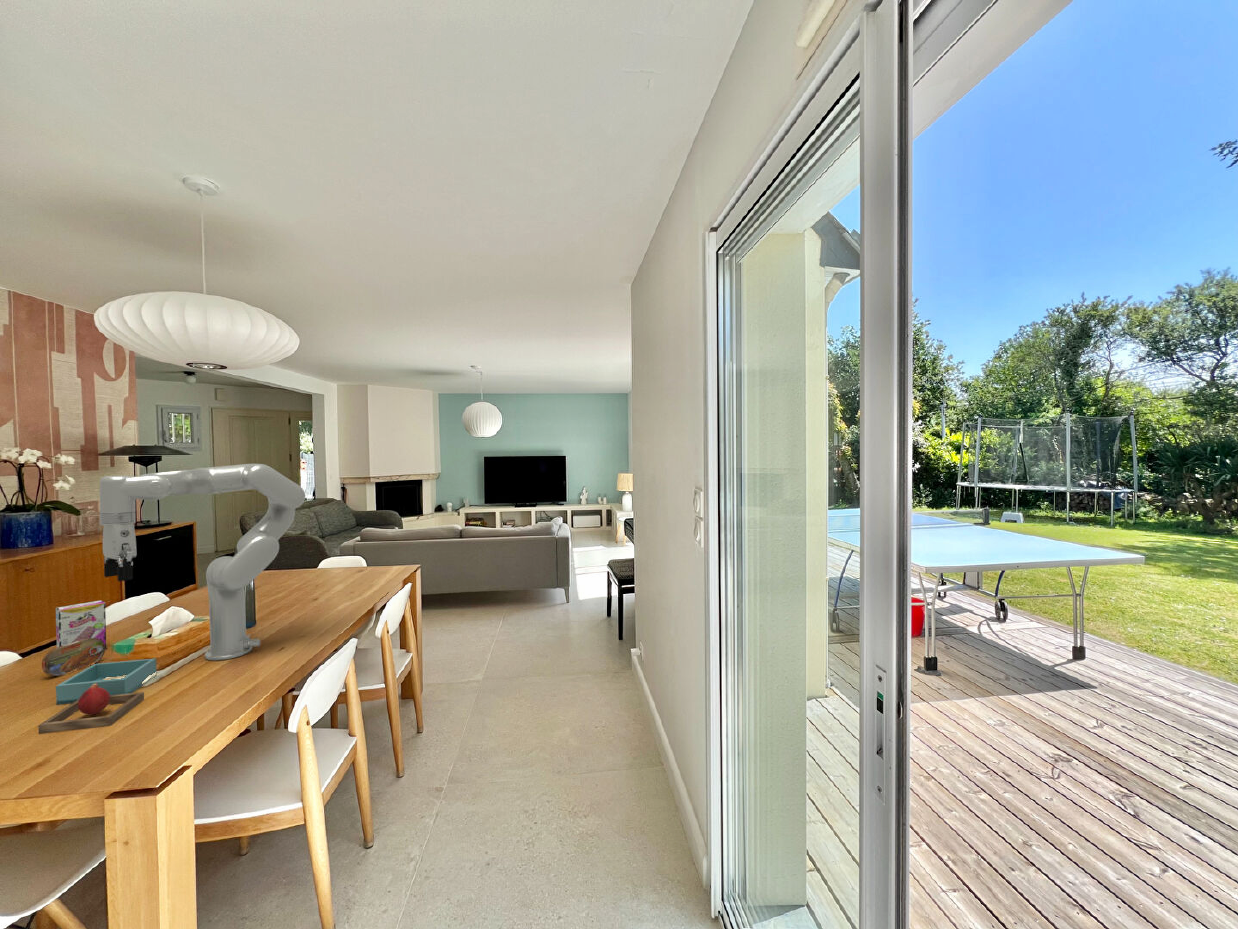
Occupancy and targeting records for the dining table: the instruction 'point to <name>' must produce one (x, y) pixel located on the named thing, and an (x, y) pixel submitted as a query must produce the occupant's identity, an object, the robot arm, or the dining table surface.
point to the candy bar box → (81, 622)
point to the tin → (73, 656)
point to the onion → (93, 700)
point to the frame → (59, 725)
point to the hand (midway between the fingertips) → (118, 578)
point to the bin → (97, 672)
